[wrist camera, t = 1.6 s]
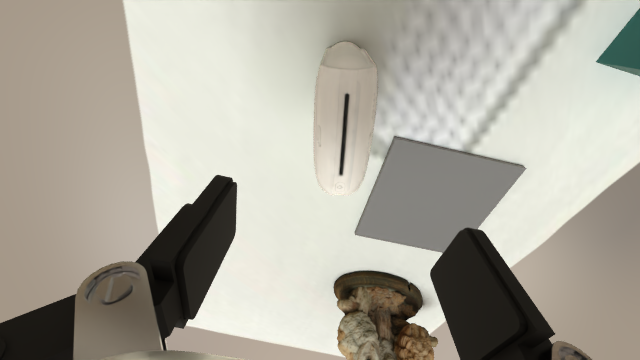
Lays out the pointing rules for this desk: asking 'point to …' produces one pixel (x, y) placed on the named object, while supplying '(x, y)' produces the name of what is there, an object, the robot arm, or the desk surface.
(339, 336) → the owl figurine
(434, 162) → the mat
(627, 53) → the bracket
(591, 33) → the desk surface
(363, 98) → the photo printer
